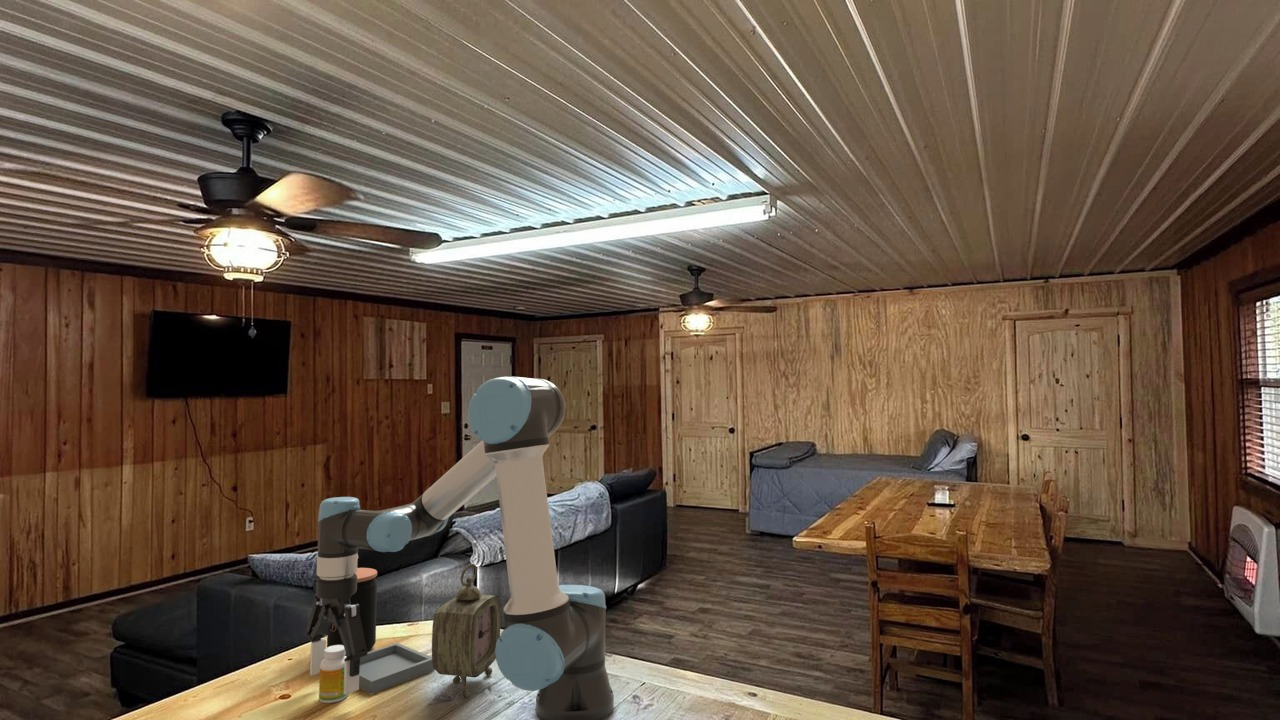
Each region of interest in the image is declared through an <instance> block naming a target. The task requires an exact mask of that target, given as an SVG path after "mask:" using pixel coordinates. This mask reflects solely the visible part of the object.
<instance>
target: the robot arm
mask: <svg viewBox="0 0 1280 720" xmlns="http://www.w3.org/2000/svg"><path fill="white" fill-rule="evenodd" d="M566 409H567V408H566V400H565V398H564V396H563V393H562V392H561V390H560V389H559V387H557V386H556V385H555V384H554V383H553V382H551V381H549V380H547V379H544V378H538V377H532V378H530V377H522V376H521V377H520V376H513V375H510V376H500V377H495V378H491V379H489V380H486V381H484V382H483V383H482V384H480V386H479V387H478V388H477V389H476V391H475V392H474V393H473V394H472V396H471V399H470V401H469V404H468V409H467V416H468V417H467V418H468V424H469V427H470V429H471V431H472V433H473V435H474V434H475V435H476V436H477V438H478V439H479V440H481V441H480V442H479V443H477V445H475V446H474V447H473V448H472V449H471V450H470V451H469V452H468V453H466V454H465V455H464V456H463V457H462V458H461V459H460V460H458V462H456V463H455V464H454V465H453V466H452V467H451V468H450V469H449V470H447V472H445V473H444V474H443V475H441V477H440V478H439V479H437V480H436V481H435V482H434V483H433V484H432V485H431V486H430V487H428V488H427V489H426V490H425V491H424V492H423V493H422V494H421V495H420V496H419V497H417V498H416V500H414V501H412V502H411V503H408V504H403V505H399V506H396V507H392V508H391V507H390V508H386V509H382V510H368V509H367V510H366V509H361V505H360V500H359V498H357V497H355V496H354V497H353V496H339V497H337V496H336V497H329V498H326V499H324V500H322V501H321V503H320V504H319V511H318V519H317V524H318V528H317V529H318V530H317V531H318V533H317V534H318V535H317V556H316V576H317V577H318V578H316V584H315V585H316V586H315V587H316V589H315V594H314V595H313V603H312V604H313V605H312V608H311V612H310V615H309V618H308V621H307V625H306V628H305V632H304V633H305V634H304V636H306V637H309V638H308V639H309V641H310V666H309V667H310V668H309V675H310V676H314V675H315V676H316V675H318V674H320V664H321V662H322V661H323V660H324V659H325V658H324V650H325V649H326V648H327V630H328V628H329V626H330V624H331V622H332V623H333V624H334V626H335V628H336V629H338V630H339V633H340V636H341V639H342V642H343V646H344V649H345V652H346V655H347V657H346V658H345V659H344V661H345V666H344V694H345V695H346V694H348V695H349V694H350V693H355V692H357V691H359V690H360V688H359V672H360V658H361V657H363V656H366V655H367V647H366V642H365V638H364V633H363V628H362V623H361V618H360V606H359V604H355V605H351V602H350V597H351V596H352V595H353V594H355V593H356V591H357V575H356V574H355V572H356V571H357V568H358V559H359V555H358V553H359V549H362V550H370V551H377V552H381V553H386V552H390V553H396V552H399V551H402V550H403V549H404V548H405V546H406V545H407V544H409V542H410V541H413V540H417V539H421V538H424V537H430V536H433V535H434V534H436V533H439V532H441V531H442V530H443V529H444V528H445V527H446V526H447V524H448V521H449V517H451V516H452V515H453V514H454V513H456V512H457V511H458V510H459V509H460V508H462V507H463V505H465V504H466V503H467V502H468V501H470V499H472V497H474V496H475V495H476V494H478V493H479V491H481V490H482V489H483V488H484V487H485V486H486V485H488V484H489V483H490V482H491V481H492V480H494V479H495V478H496V485H497V491H498V492H497V494H498V500H499V509H500V510H499V511H500V519H501V527H502V535H503V544H504V552H505V560H506V568H507V570H506V571H507V576H508V577H507V578H508V587H509V595H510V598H509V599H508V602H507V603H506V604H505V606H504V607H503V619H504V626H505V627H504V629H503V630H502V631H501V632H500V637H499V639H498V640H497V643H496V648H495V655H496V659H495V661H496V664H497V666H498V669H499V672H500V673H501V674H502V676H503V677H504V678H505V679H506V680H508V681H509V682H510V683H511V684H512V685H513V686H515V687H516V688H518V689H521V690H523V691H529V692H535V691H537V692H536V693H537V694H536V697H535V713H536V715H537V716H538V717H539V718H540V719H541V720H604V719H606V718H607V717H608V716H609V715H611V713H613V710H614V706H615V705H614V704H615V703H614V701H615V697H614V691H613V689H612V687H611V684H610V680H609V675H608V672H607V669H606V668H607V667H606V617H607V616H606V615H607V614H606V613H607V611H606V610H607V605H606V595H605V592H604V591H603V590H602V589H600V588H599V587H595V586H591V585H584V584H559V580H558V570H557V565H556V563H557V562H556V556H555V548H554V541H553V540H554V539H553V532H552V525H551V524H552V523H551V517H550V508H549V500H548V493H547V492H548V491H547V486H546V485H547V484H546V476H545V469H544V467H545V466H544V460H543V456H544V453H545V452H546V451H547V449H548V448H549V447H550V442H549V438H550V437H551V436H552V435H553V434H555V433H556V431H558V430H559V428H560V426H561V425H562V423H563V421H564V420H565V416H566V415H565V414H566ZM325 638H326V639H325Z"/></svg>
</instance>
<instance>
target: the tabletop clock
mask: <svg viewBox="0 0 1280 720" xmlns="http://www.w3.org/2000/svg"><path fill="white" fill-rule="evenodd" d="M470 568H474V574H473V576H472V577H467V578H466V582H464V577H465V574H466V572H467V571H468V569H470ZM477 573H478V568H477V566H476V564H475V563H469V564H467V565H466V566H465V567H464V568H463V570H462V571H461V575H460V583H461V585H462V587H461V588H459V589H458V591H457V593H456V595H455V597H454V598H452V599H450V600H449V601H446V602H445V603H444V604H442V605H441V606H440V607H438V608H437V610H436V611H435V612H434V614H433V620H432V633H431V635H432V637H431V657H432V664H433V668H434V669H435V670H434V671H436V673H437V674H439V675H442V676H443V675H444V676H445V675H446V676H454V677H453V679H452V684H453V685H455V686H456V685H459V684H461V683H462V686H463V689H462V691H461V696H462V697H463V698H468V697H470V694H471V691H470V689H469V688H467V686H468V685H467V678H478V677H479V676H480V675H482V674H483V673H484V675H486V676H491V675H492V673H493V668H492V667H491V665H492V664H493V663H494V661H496V655H495V648H496V643H497V640H498V639H499V637H500V635H501V601H500V596H498V595H489V594H482V593H481V591H480V589H479V588H478V587H477V586H475V585H472V583H474V581H475V580H476V577H477Z"/></svg>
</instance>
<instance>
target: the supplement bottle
mask: <svg viewBox="0 0 1280 720" xmlns="http://www.w3.org/2000/svg"><path fill="white" fill-rule="evenodd" d="M345 654H346V652H345V649H344V646H343V645H334V646H330V647H327V646H326V649H325V650H324V658H325V659H324V660H323V661H322V662H321V664H320V673H319V684H318V685H319V686H318V700H319V701H320V703H322V704H323V703H324V704H331V703H332V704H333V703H338V702H341V701H343V700H345V699H346V698H347V697H348V695H349V694H346V695H345V694H344V666H345V661H344V659H345V658H346V656H345Z"/></svg>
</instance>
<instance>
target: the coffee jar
mask: <svg viewBox="0 0 1280 720" xmlns="http://www.w3.org/2000/svg"><path fill="white" fill-rule="evenodd" d="M355 574H356V575H357V591H356V593H355V594H353V595H352V596H351V597H350V602H351V605H355V604H359V606H360V618H361V623H362V628H363V633H364V638H365V642H366V647H367V652H368V651H369V652H370V651H372V649H373V647H374V646H375V644H376V640H377V638H376V636H377V634H376V633H377V603H378V602H377V601H378V600H377V599H378V598H377V597H378V595H377V594H378V582H377V580H376V577H377V576H378V571H377V569H374V568H370V567H357V571H356V572H355ZM326 636H327V637H326V648H327V647H330V646H334V645H343V642H342V639H341V636H340V633H339V630H338V629H336V628H335V626H334V624H333V623H332V622H331V624H330V626H329V628H328V630H327V631H326ZM345 656H346V657H347V655H346V654H345Z"/></svg>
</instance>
